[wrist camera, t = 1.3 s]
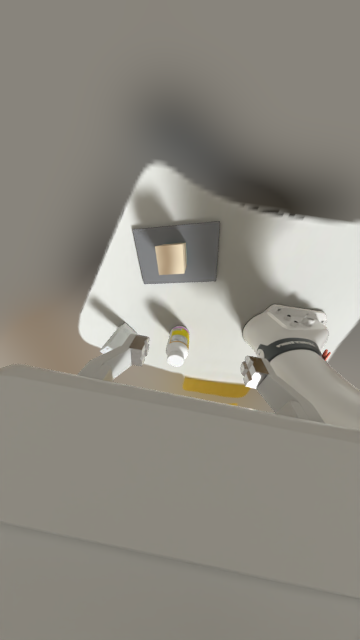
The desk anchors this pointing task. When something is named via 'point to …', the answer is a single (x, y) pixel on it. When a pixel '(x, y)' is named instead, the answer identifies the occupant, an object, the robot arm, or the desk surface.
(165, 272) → the birch block
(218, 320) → the desk surface
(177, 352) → the supplement bottle
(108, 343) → the skincare box
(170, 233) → the rubber mat
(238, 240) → the desk surface
